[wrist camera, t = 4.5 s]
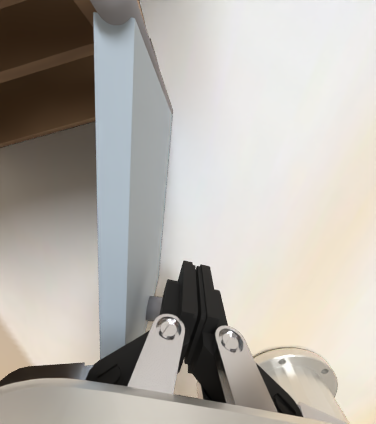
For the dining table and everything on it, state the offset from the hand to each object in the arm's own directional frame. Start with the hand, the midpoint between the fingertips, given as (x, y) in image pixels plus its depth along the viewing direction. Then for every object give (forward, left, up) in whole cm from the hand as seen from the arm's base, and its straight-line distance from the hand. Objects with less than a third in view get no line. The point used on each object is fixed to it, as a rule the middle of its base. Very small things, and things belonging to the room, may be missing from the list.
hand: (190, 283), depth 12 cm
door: (+4, +1, -7) cm, 8 cm away
